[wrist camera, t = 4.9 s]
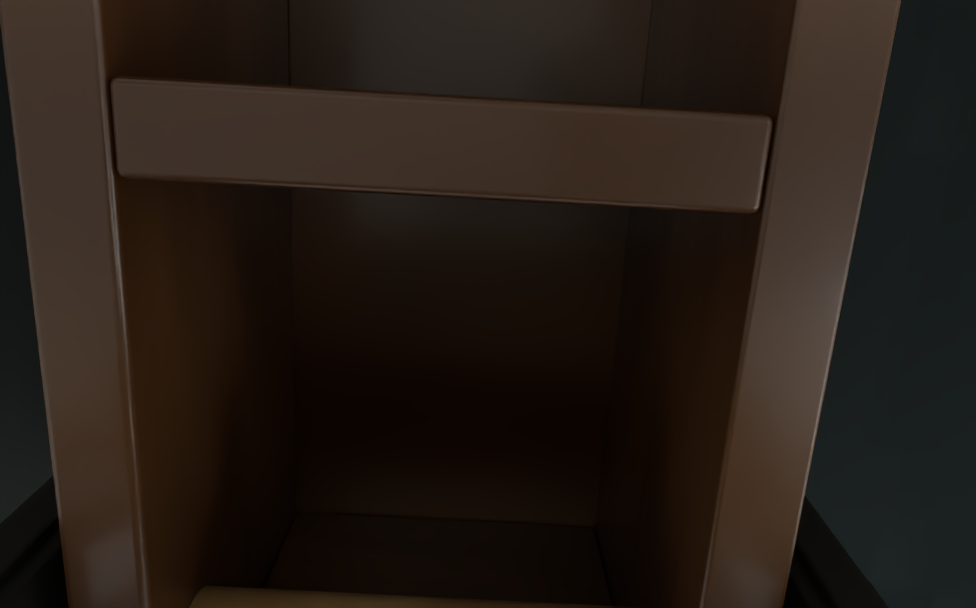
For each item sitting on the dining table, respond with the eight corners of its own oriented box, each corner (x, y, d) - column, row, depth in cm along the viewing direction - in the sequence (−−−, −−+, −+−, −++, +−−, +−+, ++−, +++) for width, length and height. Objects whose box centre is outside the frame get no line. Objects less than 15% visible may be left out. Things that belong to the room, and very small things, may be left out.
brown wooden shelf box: (650, 549, 14) (768, 882, 8) (241, 527, 14) (55, 849, 8) (784, -452, 10) (1236, -1294, 4) (200, -492, 9) (-255, -1419, 4)
